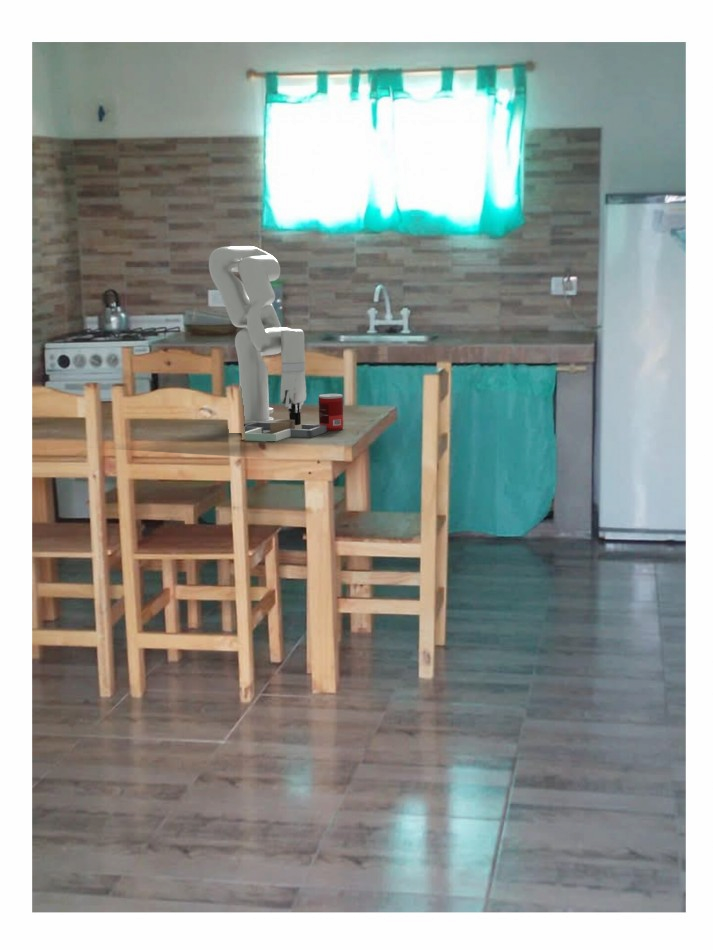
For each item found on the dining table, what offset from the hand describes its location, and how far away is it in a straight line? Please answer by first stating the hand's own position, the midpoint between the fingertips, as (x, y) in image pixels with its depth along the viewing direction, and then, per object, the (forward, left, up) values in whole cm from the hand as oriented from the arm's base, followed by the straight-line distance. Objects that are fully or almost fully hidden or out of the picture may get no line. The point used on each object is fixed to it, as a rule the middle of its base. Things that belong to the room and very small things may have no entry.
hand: (295, 424), depth 403 cm
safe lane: (+19, 0, -1) cm, 19 cm away
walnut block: (+9, 0, -2) cm, 9 cm away
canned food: (-3, +11, -2) cm, 12 cm away
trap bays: (+9, 0, -1) cm, 9 cm away
